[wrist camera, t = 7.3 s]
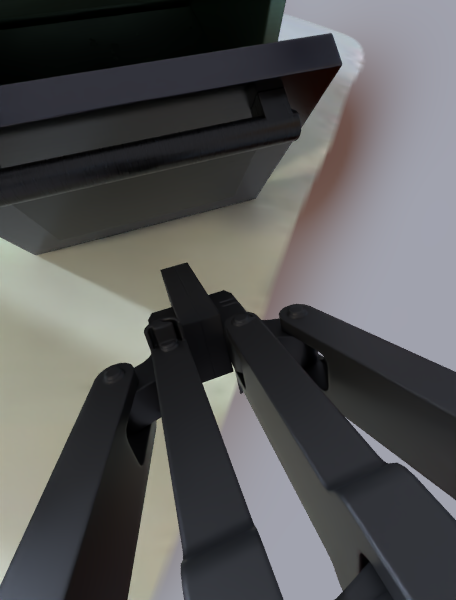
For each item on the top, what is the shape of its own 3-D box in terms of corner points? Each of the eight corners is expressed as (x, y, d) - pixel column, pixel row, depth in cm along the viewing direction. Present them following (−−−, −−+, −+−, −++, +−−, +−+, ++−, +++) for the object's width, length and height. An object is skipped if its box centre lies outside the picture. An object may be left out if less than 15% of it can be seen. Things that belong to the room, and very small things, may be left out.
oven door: (262, 220, 30) (358, 108, 14) (43, 280, 26) (-145, 216, 11) (250, 183, 30) (332, 32, 15) (29, 237, 26) (-176, 111, 11)
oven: (248, 183, 30) (295, -42, 15) (31, 237, 27) (-188, 9, 12) (197, 71, 35) (194, -184, 20) (6, 103, 31) (-173, -181, 16)
